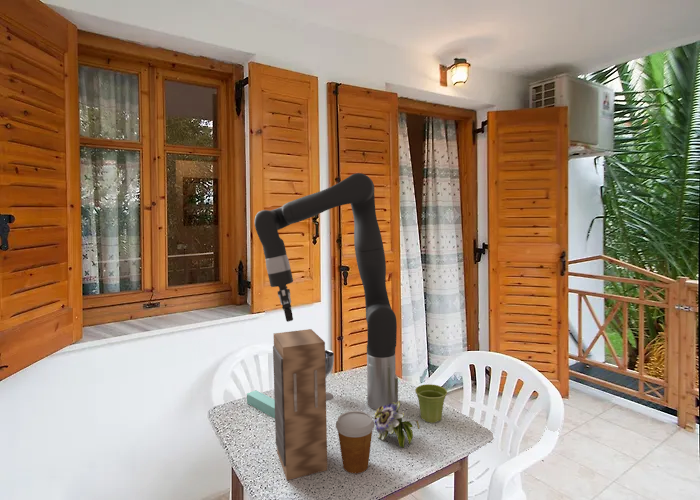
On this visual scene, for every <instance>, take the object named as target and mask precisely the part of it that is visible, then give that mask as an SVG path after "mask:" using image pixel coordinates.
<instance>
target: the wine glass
mask: <svg viewBox="0 0 700 500" xmlns="http://www.w3.org/2000/svg"><path fill="white" fill-rule="evenodd" d="M334 353H335V352H333V351H332V350H328V349H327V350H326V349H325V373H326V378H327V377H328V376H329V375H330V374H331V372H332V371H333V367H334V364H335V363H334V361H335V355H334ZM333 398H334V394H333V393H331V392H330V391H329V392H328V391H326V402H327V401H331V400H332V399H333Z"/></svg>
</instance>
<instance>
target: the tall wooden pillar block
mask: <svg viewBox="0 0 700 500" xmlns="http://www.w3.org/2000/svg"><path fill="white" fill-rule="evenodd" d="M325 350H326V342H325V340H323V338H321V337H320V336H319V335H318V333H316V332H315V331H314V330H313V329H312V328H308V329H300V330H291V331H284V332H282V331H281V332H275V333H273V346H272V360H273V361H272V362H273V363H272V364H273V365H272V366H273V390H274V391H273V394H274V395H273V399H274V400H275V418H274V423H275V424H274V426H275V427H274V428H275V445H276V453H277V456H278V459H279V462H280V465H281V467H282V472H283V473H284V476H285V478H286V480H287V481H290V480H293V479H298V478H301V477H305V476H309V475H313V474H317V473H321V472H325V471H328V437H327V436H328V434H327V433H328V432H327V431H328V429H327V427H328V426H327V401H326V392H327V385H326V383H327V382H326V379H327V377H326V373H325Z"/></svg>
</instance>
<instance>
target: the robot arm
mask: <svg viewBox="0 0 700 500" xmlns="http://www.w3.org/2000/svg"><path fill="white" fill-rule="evenodd" d="M375 196H376V195H375V184H374V182H373V180H372V179H371V178H370V177H369V176H368V175H367V174H364V173H362V172H356V173H353V174H351V175H349V176H348V177H346V178H345V179H343V180H341V181H340V182H338V183H336V184H334V185H331V186H330V187H327V188H325V189H323V190H320V191H316V192H313V193H312V194H311V193H310V194H307V195H305V196H302V197H299V198H296V199H294V200H291V201H288V202H287V203H284V204H283V205H282V206H280V207H277V208H275V209H271V210H268V209H262V210H260V211H258V212H257V213H256V214H255V217H254V228H255V232H256V234H257V236H258V238H259V241H260V243H261V245H262V251H263V254H264V258H265V259H264V260H265V267H266V268H265V269H266V271H267V272H266V273H267V276H268V282H269V286H270V287H271V288H276V287H278V289H279V290H277V297H278V299H279V302H280V305H282V310H283V312H284V317H285V321H286V322H288V323H289V322H292V321H293V320H294V317H293V312H292V311H293V310H292V304H291V303H292V298H291V290H290V288H288V286H287V285H289V284H292V283H293V282H294V279H293V278H294V277H293V274H292V269H291V264H290V259H289V257H288V255H287V250H286V245H285V242H284V239H282V237H280V234H279V230H282V229H284V228H286V227H289V226H290V225H293V224H296V223H300V222H302V221H305V220H308V219H311V218H313V217H316V216H317V215H321V214H322V213H324V212H326V211H328V210H331V209H334V208H336V207H340V206H344V205H350V206H351V211H352V216H353V226H354V227H353V229H354V230H353V239H354V240H353V243H354V254H355V259H356V264H357V269H358V273H359V276H360V280H361V283H362V286H363V290H364V291H363V292H364V300H365V301H364V302H365V304H364V305H365V320H366V323H367V329H366V330H367V343H366V371H367V372H366V377H367V378H366V382H367V383H366V386H367V387H366V388H367V390H366V392H367V395H366V396H367V397H366V400H367V401H366V402H367V403H366V404H367V406H368V407H369V408H370V409H373V410H376V411H377V409H378V408H379V407H380V406H382V407H383V406H385V405H386V406H387V404H388V405H389V404H390V403H391V402H392V403H393V402H394V403H395V404H396V403H397V402H398V401H399V377H398V375H396V347H397V339H398V338H397V333H398V332H397V328H398V326H397V322H398V321H397V315H396V313H395V312H394V310H393V309H392V306H391V304H390V300H389V295H388V292H387V285H386V283H387V282H386V279H387V277H386V276H387V264H386V255H385V254H386V253H385V248H384V243H383V237H382V234H381V228H380V227H379V225H380V224H379V222H378V219H377V212H376V200H375V199H376V198H375Z"/></svg>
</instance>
